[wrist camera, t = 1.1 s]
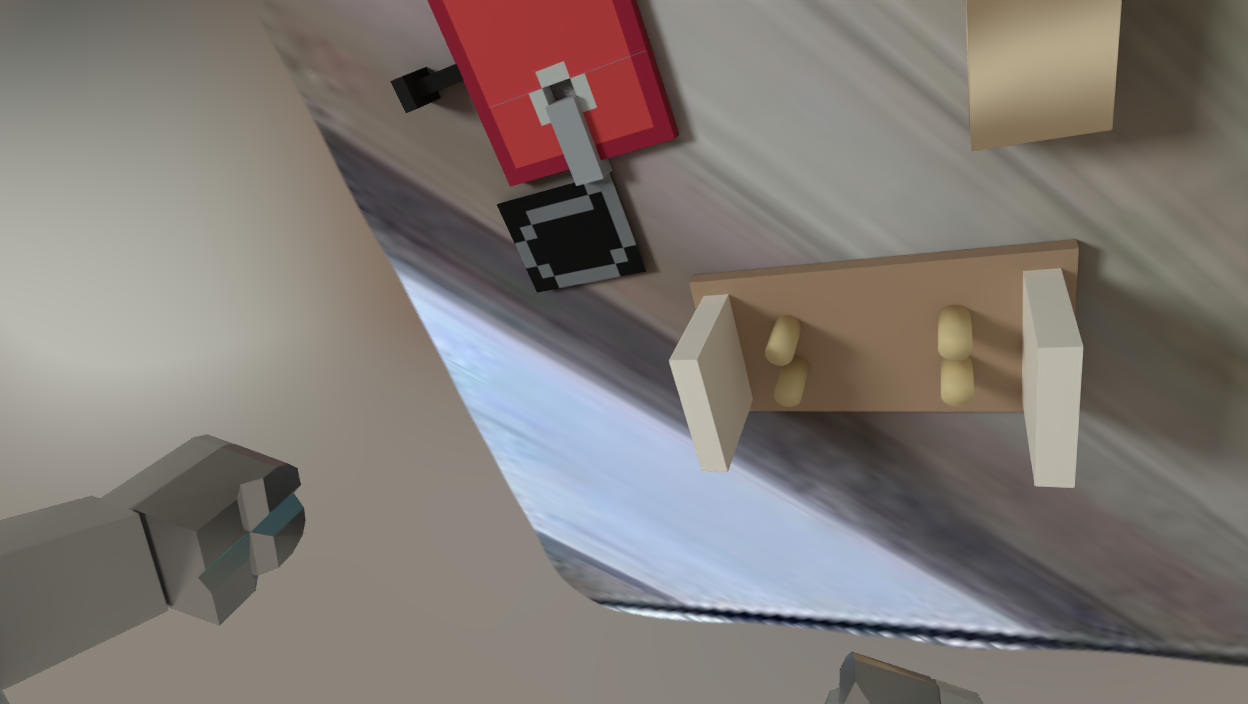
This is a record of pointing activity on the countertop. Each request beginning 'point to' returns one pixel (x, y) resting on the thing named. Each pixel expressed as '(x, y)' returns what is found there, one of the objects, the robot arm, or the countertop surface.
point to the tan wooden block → (1040, 69)
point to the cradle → (890, 344)
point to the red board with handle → (556, 120)
